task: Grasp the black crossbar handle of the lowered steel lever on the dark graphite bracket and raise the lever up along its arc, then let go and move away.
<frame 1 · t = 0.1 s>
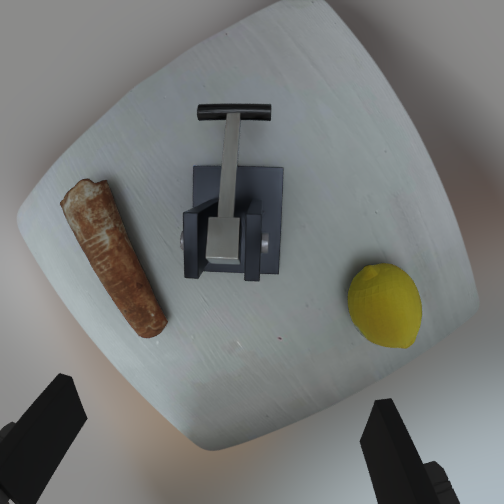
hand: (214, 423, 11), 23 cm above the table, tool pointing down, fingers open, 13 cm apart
lemon: (373, 293, 33), on the table
lever: (229, 173, 22), point 9 cm above the table, hinge at -25.0°
bread: (129, 255, 33), on the table
bracket: (237, 219, 32), on the table
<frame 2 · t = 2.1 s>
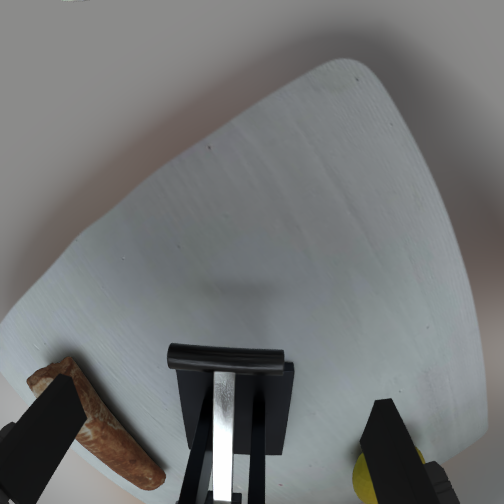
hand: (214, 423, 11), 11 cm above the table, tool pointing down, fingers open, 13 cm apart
lemon: (381, 449, 26), on the table
lever: (223, 455, 14), point 9 cm above the table, hinge at -25.0°
bread: (115, 419, 25), on the table
bracket: (235, 409, 24), on the table
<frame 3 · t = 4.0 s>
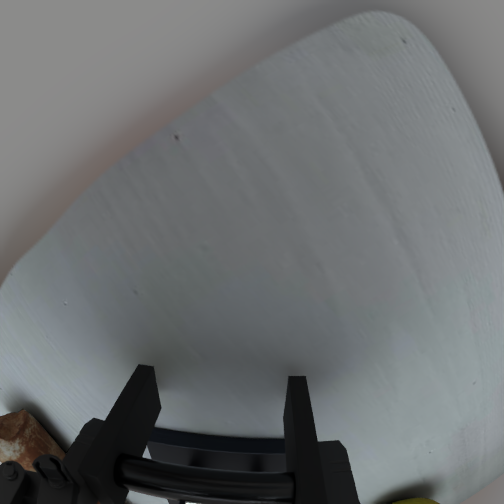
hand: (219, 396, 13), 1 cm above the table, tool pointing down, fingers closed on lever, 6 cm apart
bread: (88, 474, 18), on the table
bracket: (227, 481, 16), on the table
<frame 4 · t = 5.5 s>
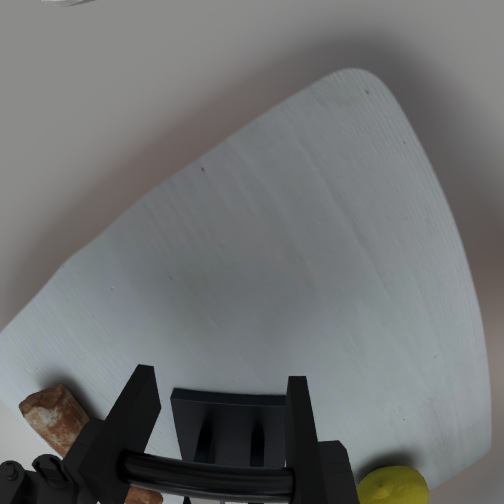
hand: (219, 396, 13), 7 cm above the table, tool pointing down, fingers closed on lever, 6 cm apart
lemon: (382, 473, 23), on the table
bread: (110, 444, 23), on the table
bracket: (233, 439, 22), on the table
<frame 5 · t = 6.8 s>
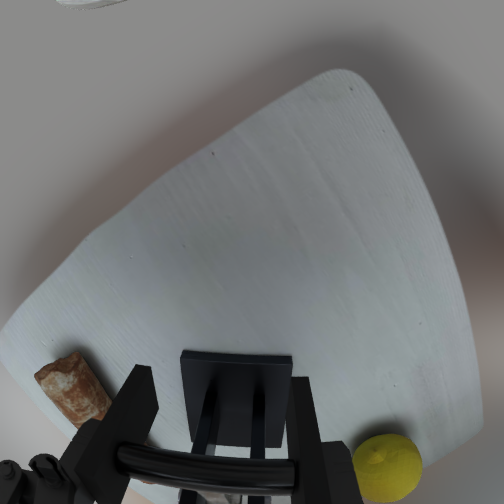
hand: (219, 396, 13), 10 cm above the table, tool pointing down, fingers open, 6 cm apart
lemon: (377, 444, 27), on the table
lever: (218, 493, 11), point 13 cm above the table, hinge at 21.6°
bread: (120, 414, 27), on the table
bracket: (236, 402, 25), on the table
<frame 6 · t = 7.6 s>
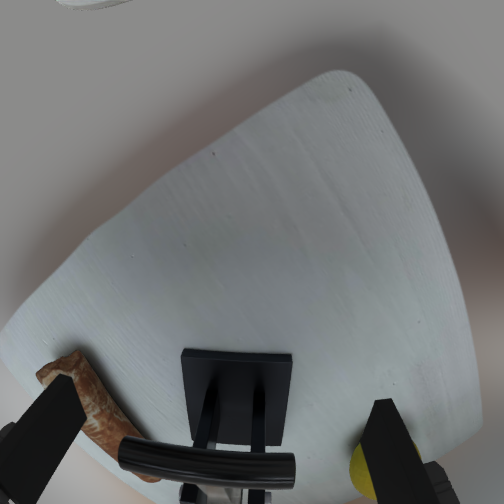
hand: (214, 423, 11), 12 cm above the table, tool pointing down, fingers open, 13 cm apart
lemon: (377, 442, 27), on the table
lever: (218, 489, 12), point 13 cm above the table, hinge at 21.6°
bread: (121, 412, 27), on the table
bracket: (236, 400, 25), on the table
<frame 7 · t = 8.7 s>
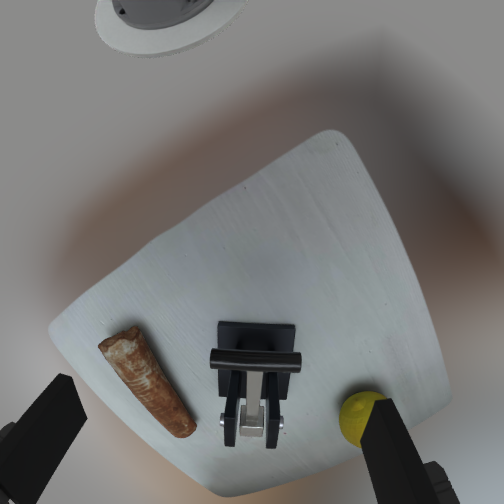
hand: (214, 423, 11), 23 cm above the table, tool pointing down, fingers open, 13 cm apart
lemon: (361, 403, 38), on the table
lever: (253, 399, 23), point 13 cm above the table, hinge at 21.6°
bread: (161, 378, 38), on the table
bracket: (254, 361, 36), on the table
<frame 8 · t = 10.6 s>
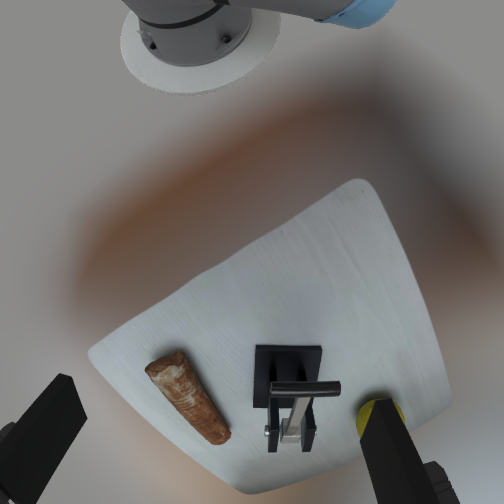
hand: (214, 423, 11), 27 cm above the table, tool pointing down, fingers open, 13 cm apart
lemon: (374, 408, 43), on the table
lever: (296, 414, 27), point 13 cm above the table, hinge at 21.6°
bread: (200, 393, 43), on the table
bracket: (285, 376, 41), on the table
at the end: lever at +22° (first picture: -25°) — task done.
